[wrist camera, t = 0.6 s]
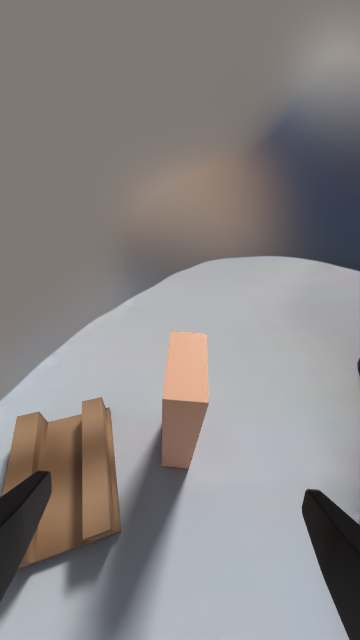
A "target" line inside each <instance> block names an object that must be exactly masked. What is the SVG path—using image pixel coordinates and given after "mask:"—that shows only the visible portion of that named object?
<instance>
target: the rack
mask: <svg viewBox="0 0 360 640" xmlns="http://www.w3.org/2000/svg"><path fill="white" fill-rule="evenodd" d="M38 470H47V471H50V472H51V482H52V493H51V496H50V499H49V501H48V504H47V506H46V508H45V511H44V513H43V515H42V518H41V520H40V522H39V525H38V527H37V529H36V532H35V534H34V536H33V538H32V541H31V543H30V545H29V548H28V550H27V552H26V554H25V556H24V558H23V560H22V562H21V564H20V566H19V568H18V570H19V569H21V568H24V567H27V566H29V565H32V564H35V563H38V562H40V561H43V560H46V559H48V558H51V557H54V556H56V555H59V554H62V553H64V552H67V551H70V550H72V549H75V548H78V547H81V546H83V545H86V544H89V543H91V542H94V541H97V540H99V539H102V538H105V537H107V536H110V535H113V534H115V533H118V532H121V523H120V512H119V501H118V490H117V479H116V468H115V457H114V446H113V435H112V424H111V413H110V408H105V405H104V402H103V400H102V397H100V398H96V399H92V400H87V401H83V402H82V414H80V415H76V416H72V417H68V418H64V419H60V420H56V421H52V422H47V421H46V419H45V418H44V417H43V416H42V414H41V413H40V412H36V413H31V414H27V415H23V416H18V417H17V420H16V425H15V430H14V435H13V441H12V446H11V451H10V457H9V462H8V467H7V472H6V478H5V483H4V488H3V493H2V496H3V495H4V494H6V493H7V492H8V491H10V490H11V489H12V488H14V487H15V486H17V485H18V484H19V483H21V482H22V481H24V480H25V479H26V478H28V477H29V476H30V475H32V474H33V473H35V472H36V471H38Z"/></svg>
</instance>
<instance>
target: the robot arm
mask: <svg viewBox="0 0 360 640" xmlns="http://www.w3.org/2000/svg"><path fill="white" fill-rule="evenodd" d="M51 493H52V482H51V472H50V471H47V470H38V471H36V472H35V473H33V474H32V475H30V476H29V477H28V478H26V479H25V480H24V481H22V482H21V483H19V484H18V485H17V486H15V487H14V488H12V489H11V490H10V491H8V492H7V493H6V494H4V495H3V496H1V497H0V602H1V600H2V598H3V596H4V594H5V592H6V590H7V589H8V587H9V585H10V583H11V581H12V579H13V577H14V575H15V573H16V571H17V570H18V568H19V566H20V564H21V562H22V560H23V558H24V556H25V554H26V552H27V550H28V548H29V545H30V543H31V541H32V538H33V536H34V534H35V532H36V529H37V527H38V525H39V522H40V520H41V518H42V515H43V513H44V511H45V508H46V506H47V504H48V501H49V499H50V496H51ZM302 514H303V518H304V521H305V524H306V527H307V530H308V533H309V536H310V539H311V542H312V545H313V548H314V551H315V554H316V557H317V560H318V563H319V566H320V569H321V572H322V574H323V577H324V579H325V582H326V584H327V587H328V589H329V592H330V594H331V596H332V599H333V601H334V604H335V606H336V608H337V611H338V613H339V616H340V618H341V620H342V623H343V625H344V628H345V630H346V632H347V635H348V637H349V640H360V525H359V524H358V523H357V522H355V521H354V520H353V519H352V518H351V517H350V516H348V515H347V514H346V513H345V512H344V511H343V510H342V509H340V508H339V507H338V506H337V505H336V504H335V503H334V502H332V501H331V500H330V499H329V498H328V497H327V496H326V495H324V494H323V493H322V492H321V491H319V490H315V489H307V490H306V492H305V496H304V500H303V505H302Z"/></svg>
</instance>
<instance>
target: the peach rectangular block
mask: <svg viewBox="0 0 360 640" xmlns="http://www.w3.org/2000/svg"><path fill="white" fill-rule="evenodd" d="M208 404H209V394H208V360H207V334H200V333H187V332H175V331H171V332H170V340H169V349H168V357H167V365H166V373H165V382H164V390H163V398H162V466H165V467H176V468H188V469H189V466H190V463H191V460H192V456H193V453H194V450H195V447H196V443H197V440H198V437H199V433H200V430H201V427H202V423H203V420H204V417H205V414H206V410H207V407H208Z"/></svg>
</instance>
